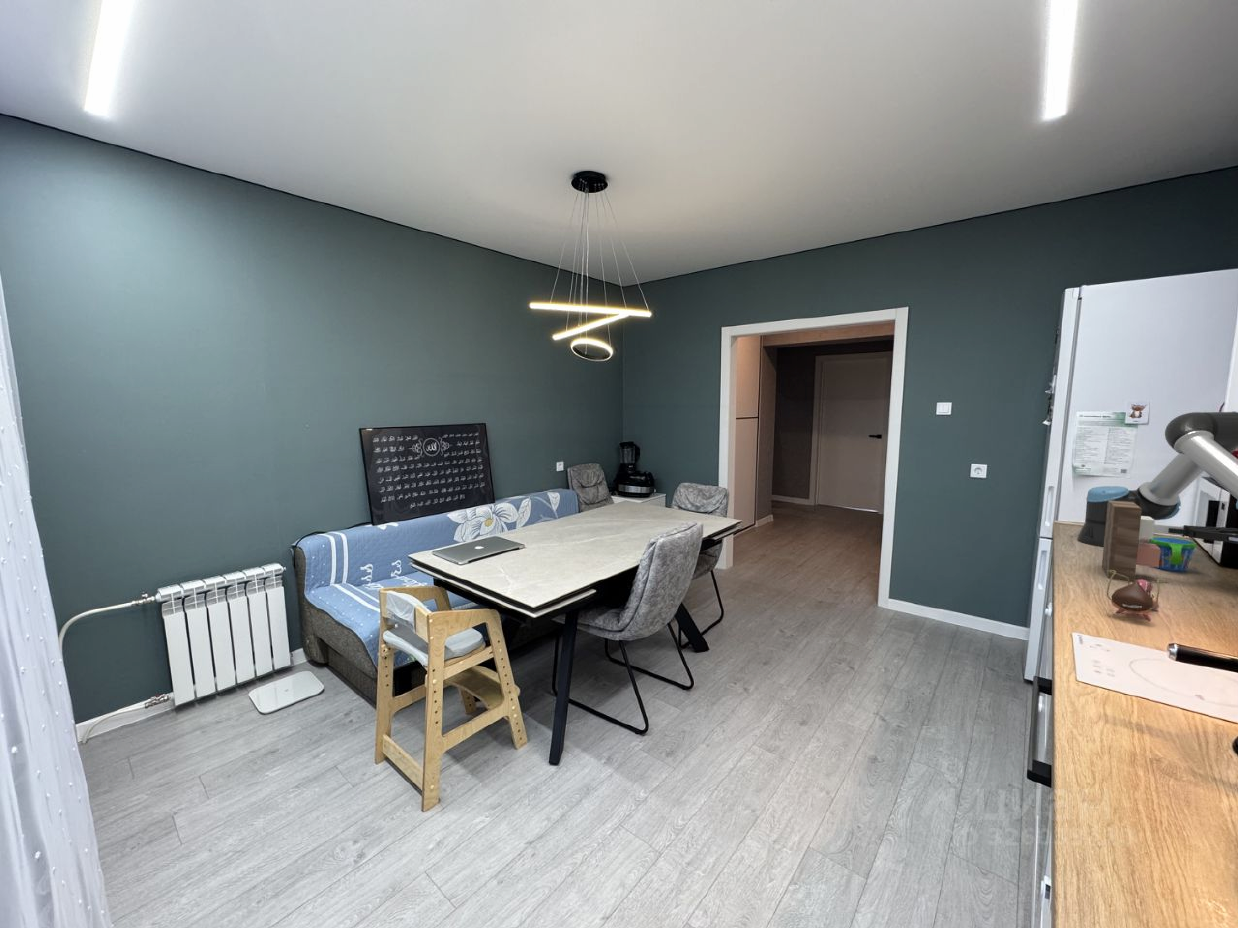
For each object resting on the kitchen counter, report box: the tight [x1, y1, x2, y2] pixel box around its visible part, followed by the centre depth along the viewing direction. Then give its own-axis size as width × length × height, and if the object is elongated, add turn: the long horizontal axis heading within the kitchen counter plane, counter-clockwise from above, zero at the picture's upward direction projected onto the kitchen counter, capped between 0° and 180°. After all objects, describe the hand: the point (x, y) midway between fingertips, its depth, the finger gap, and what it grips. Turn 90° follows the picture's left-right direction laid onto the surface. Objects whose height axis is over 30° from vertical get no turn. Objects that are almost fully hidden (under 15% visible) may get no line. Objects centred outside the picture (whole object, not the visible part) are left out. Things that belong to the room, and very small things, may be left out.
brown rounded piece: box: [1106, 570, 1169, 622], centre depth 132 cm, size 11×15×17 cm
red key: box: [1136, 542, 1160, 568], centre depth 159 cm, size 7×5×6 cm
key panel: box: [1101, 500, 1142, 583], centre depth 162 cm, size 14×6×24 cm, turn 142°
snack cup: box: [1149, 536, 1197, 573], centre depth 167 cm, size 16×10×10 cm
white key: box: [1139, 516, 1156, 540], centre depth 159 cm, size 7×5×6 cm
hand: (1152, 528), depth 157 cm, fingers closed
